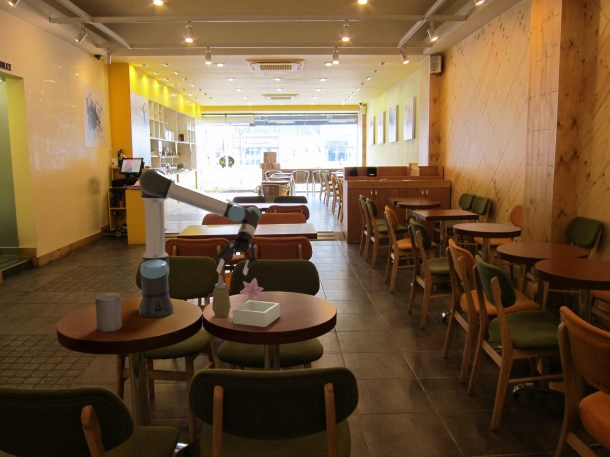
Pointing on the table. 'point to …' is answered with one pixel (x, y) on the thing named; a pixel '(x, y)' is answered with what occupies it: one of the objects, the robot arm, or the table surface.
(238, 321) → the bin
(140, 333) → the table surface
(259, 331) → the table surface
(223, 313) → the squeeze bottle
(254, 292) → the lily
